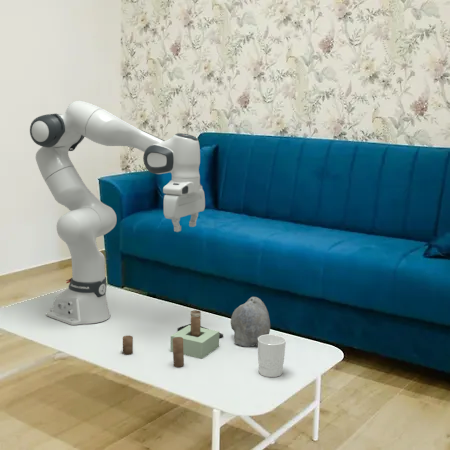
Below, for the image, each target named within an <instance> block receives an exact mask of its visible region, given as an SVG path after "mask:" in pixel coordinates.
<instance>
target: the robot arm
mask: <svg viewBox="0 0 450 450" xmlns="http://www.w3.org/2000/svg"><path fill="white" fill-rule="evenodd" d="M29 135H30V138H31V139H32V141H33V143H35V144H36V145H37V146H40V148H39V149H38V150H37V152H36V153H35V161H36V164H37V167H38V169H39V173H40V175H41V177H42V178H43V180H44V182H45V183H46V186H47V188H48V189H49V191H50V192H51V195H52V196H53V198H54V200H55V201H56V202H57V203H58V204H60V205H62V206H63V207H65V208H67V210H69V211H68V212H66V213H65V214H63V215H61V216H60V217H59V219H58V220H57V222H56V231H57V235H58V236H59V238H60V239H61V240H62V241H63V242H64V243H65V244H66V245H67V247H68V250H69V253H70V257H71V270H72V271H71V273H72V274H71V275H72V276H71V278H69V279H66V280H65V281H66V284H68V288H66V289H64V290H63V292H61V293H60V294H58V295H57V296H55V298H54V300H53V305H52V308H50V309H49V310H47V312H46V316H47V317H49V318H51V319H54V320H57V321H60V322H63V323H65V324H69V325H71V326H77V325H86V324H90V325H91V324H96V323H97V324H98V323H101V322H105V321H106V320H108V319H110V317H111V314H110V311H109V306H108V300H107V293H106V292H107V277H106V262H105V261H106V258H105V257H106V256H105V255H104V253H103V252H101V251H100V249H99V247H98V245H97V238H98V237H101V236H106V234H108V233H110V232H111V231H112V230H114V228H115V227H116V225H117V214H116V212H115V210H114V209H113V207H111V206H109V205H107V204H106V203H104V202H102V201H101V200H100V199H99V198H98V197H96V195H95V194H94V193H92V192H91V190H90V189H89V188H88V187H87V185H86V184H85V182H84V180H83V179H82V177H81V176H80V174H79V172H78V171H77V168H76V167H75V165H74V164H73V162H72V160H71V158H70V156H69V152H73V151H75V149H76V148H78V145H79V144H81V143H82V142H83V140H84V139H85V138H86V139H88V140H89V141H91V142H93V143H96V144H98V145H101V146H102V145H103V146H106V147H128V148H129V147H130V148H133V149H136V150H137V149H138V150H139V151H141V152H143V157H142V158H143V165H144V167H145V168H146V170H147V171H149V173H152V174H155V175H162V174H168V173H169V174H171V180H169V182H168V183H167V184H166V185H164V186H163V188H162V193H163V194H164V195H163V215H164V218H165V219H168V220H171V223H172V225H173V231H174V232H176V233H179V232H181V231H182V225H180V221H181V218H183V217H187V216H190V220H189V222H188V223H189V224H188V226H189V227H190V228H194V227H196V226H197V220H198V217H199V213H200V212H204V211H205V208H206V198H205V195H206V194H205V191H204V189H203V185H202V184H201V175H200V170H199V169H200V166H201V165H200V164H201V149H200V148H201V147H200V142H199V139H198V138H197V137H196V136H195V135H191V134H189V133H180V132H179V133H175V134H174V135H173V136H171V137H170V138H169V139H166V140H165V139H163V138H160V137H159V136H156V135H154V134H151V133H149V132H147V131H145V130H143V129H140V128H138V127H136V126H135V125H132V124H131V123H129V122H127V121H125V120H123V119H122V118H120V117H119V116H117V115H115V114H113V113H111V112H110V111H108V110H106V109H104V108H103V107H100V106H98V105H96V104H93V103H91V102H87V101H83V100H80V99H79V100H73V101H72V102H71V103H70V104H68V106H67V108H66V110H65V112H64V113H49V114H42V115H39V116H38V117H36V118H34V119H33V120H32V121H31V124H30V126H29Z"/></svg>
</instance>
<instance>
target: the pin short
mask: <svg viewBox="0 0 450 450" xmlns="http://www.w3.org/2000/svg"><path fill="white" fill-rule="evenodd" d="M133 337H134V336H133V335H124V336H122V354H123V355H125V356H130V355H132V354H133V353H134V346H133V345H134V340H133Z"/></svg>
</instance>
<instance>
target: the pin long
mask: <svg viewBox="0 0 450 450" xmlns="http://www.w3.org/2000/svg"><path fill="white" fill-rule="evenodd" d="M201 315H202V312H201V311H200V310H196V309H195V310H191V311H190V324H191V336H194V337H199V336H200V326H201V325H202V324H201V319H202V318H201V317H202V316H201Z"/></svg>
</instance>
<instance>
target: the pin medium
mask: <svg viewBox="0 0 450 450" xmlns="http://www.w3.org/2000/svg"><path fill="white" fill-rule="evenodd" d="M184 356H185V355H184V351H183V338H182V337H175V338H173V352H172V357H173V358H172V359H173V361H172V362H173V367H174V368H181V367H184V366H185V358H184Z"/></svg>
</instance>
